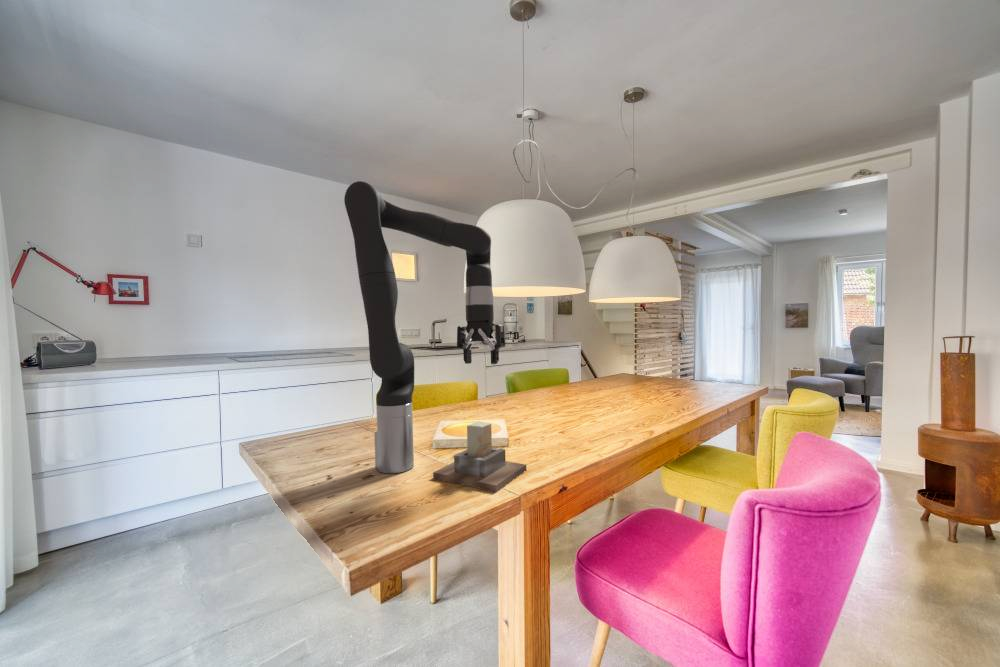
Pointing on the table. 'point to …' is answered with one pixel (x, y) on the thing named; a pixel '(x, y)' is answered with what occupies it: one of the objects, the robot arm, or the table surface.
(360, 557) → the table surface
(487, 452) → the box
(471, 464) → the socket
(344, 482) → the table surface
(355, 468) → the table surface
